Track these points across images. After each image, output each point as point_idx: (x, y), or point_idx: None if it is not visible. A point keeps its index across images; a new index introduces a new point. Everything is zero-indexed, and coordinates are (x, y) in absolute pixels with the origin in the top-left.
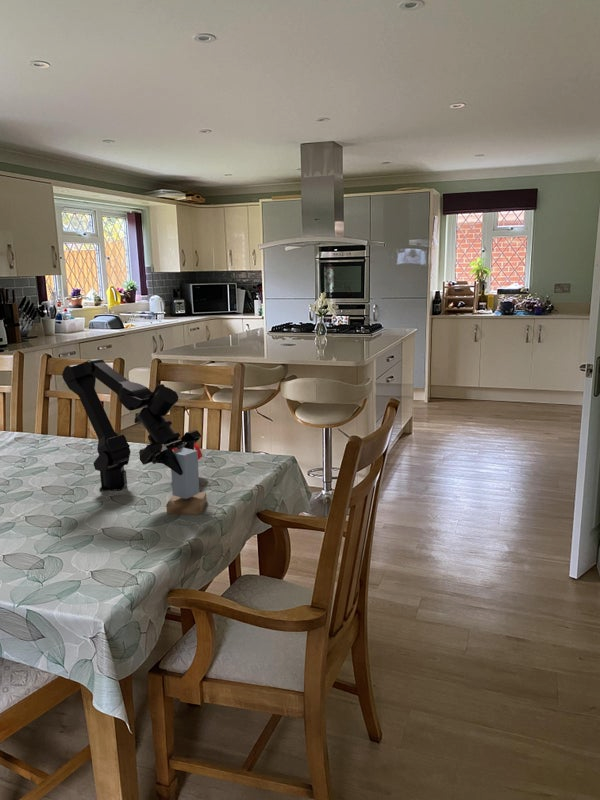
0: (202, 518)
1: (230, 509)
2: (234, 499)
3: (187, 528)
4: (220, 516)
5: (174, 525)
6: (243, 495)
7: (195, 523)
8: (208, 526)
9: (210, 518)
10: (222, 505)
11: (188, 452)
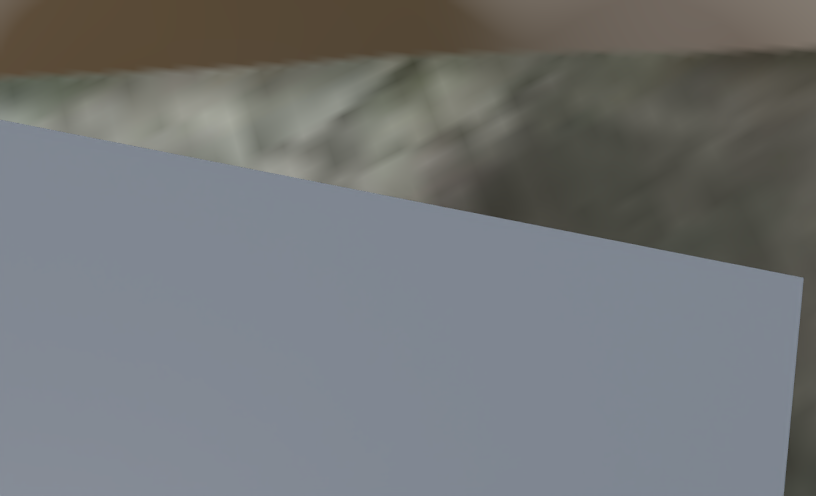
0: (576, 186)
1: (328, 64)
2: (118, 131)
3: (807, 200)
4: (485, 71)
5: (808, 340)
6: (17, 102)
7: (690, 189)
8: (696, 64)
9: (551, 125)
10: (268, 163)
11: (223, 347)
